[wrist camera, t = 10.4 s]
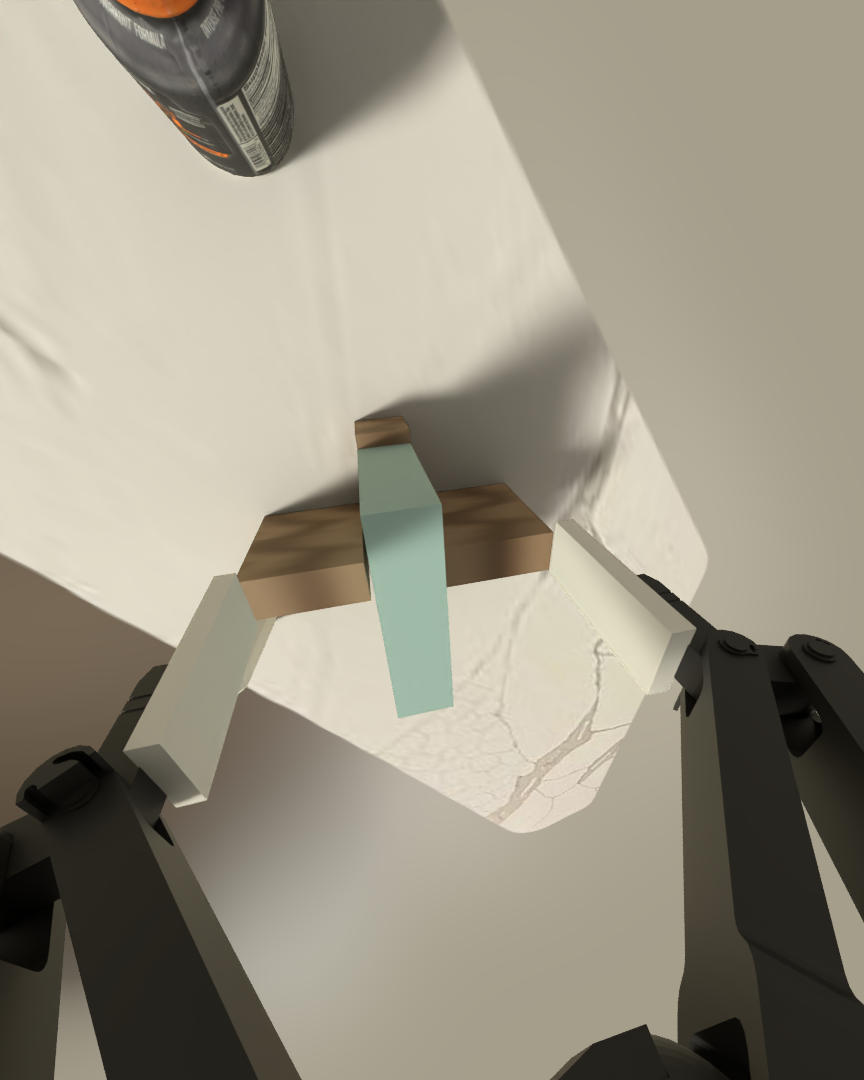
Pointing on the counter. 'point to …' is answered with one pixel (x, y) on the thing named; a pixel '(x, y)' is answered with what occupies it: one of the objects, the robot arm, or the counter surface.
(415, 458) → the teal block
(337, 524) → the walnut joint base
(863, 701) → the robot arm
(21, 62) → the counter surface
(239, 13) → the pill bottle
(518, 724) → the counter surface
